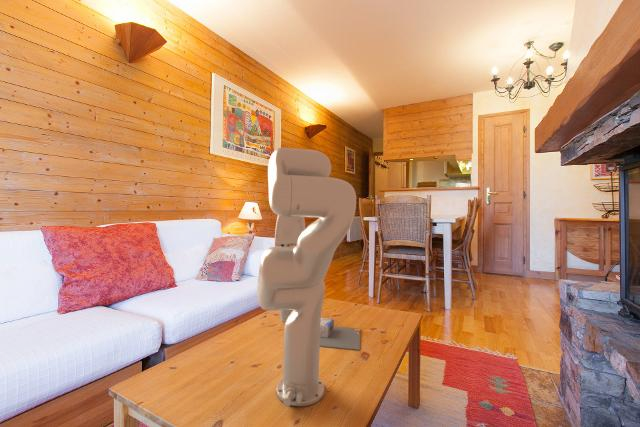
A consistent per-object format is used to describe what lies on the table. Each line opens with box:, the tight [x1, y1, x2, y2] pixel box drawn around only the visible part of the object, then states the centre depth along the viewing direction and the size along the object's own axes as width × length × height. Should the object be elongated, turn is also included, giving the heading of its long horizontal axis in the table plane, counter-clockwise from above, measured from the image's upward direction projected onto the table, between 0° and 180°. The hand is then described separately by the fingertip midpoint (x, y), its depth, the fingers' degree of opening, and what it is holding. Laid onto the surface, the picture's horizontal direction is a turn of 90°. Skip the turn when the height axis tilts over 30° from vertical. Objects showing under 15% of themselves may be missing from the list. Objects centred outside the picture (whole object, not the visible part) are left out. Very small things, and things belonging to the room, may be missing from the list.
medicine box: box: [320, 317, 335, 338], centre depth 114 cm, size 8×4×9 cm
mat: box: [320, 325, 361, 351], centre depth 112 cm, size 18×22×1 cm
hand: (289, 263), depth 102 cm, fingers closed
